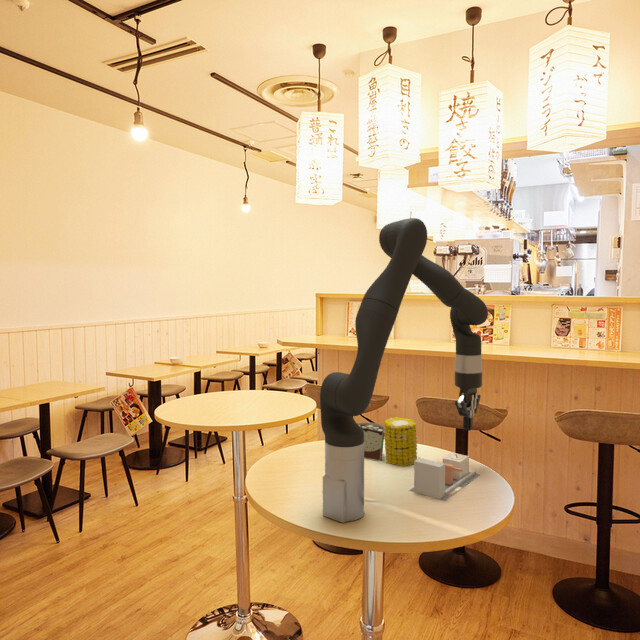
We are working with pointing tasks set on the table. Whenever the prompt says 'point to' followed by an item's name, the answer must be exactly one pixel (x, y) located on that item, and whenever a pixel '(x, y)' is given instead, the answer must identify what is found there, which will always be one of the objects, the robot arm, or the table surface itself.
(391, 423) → the food
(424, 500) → the table surface
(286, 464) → the table surface
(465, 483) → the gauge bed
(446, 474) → the brown slider plate
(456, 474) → the gauge housing
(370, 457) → the chocolate cake half
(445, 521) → the table surface
